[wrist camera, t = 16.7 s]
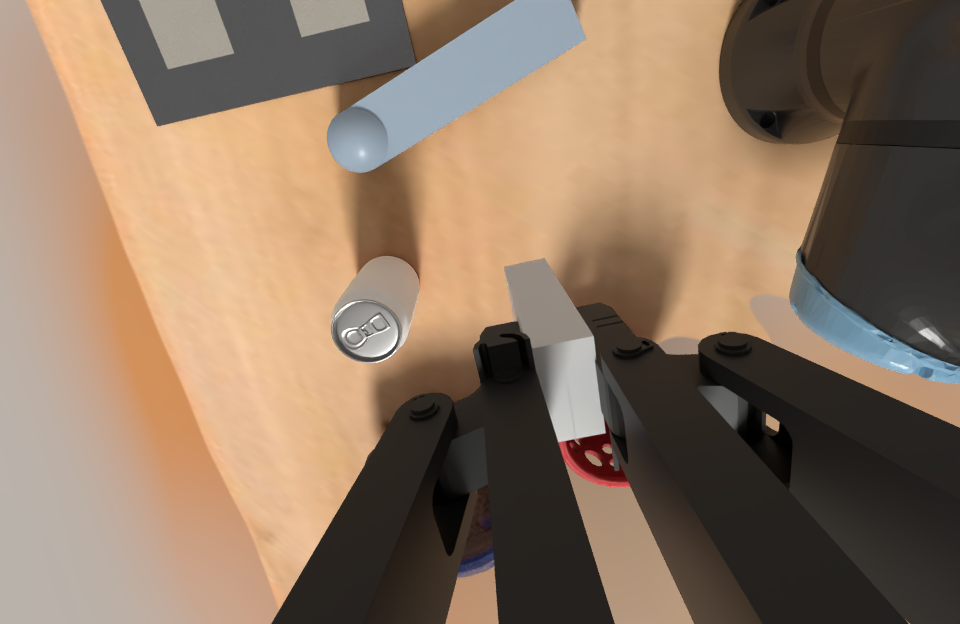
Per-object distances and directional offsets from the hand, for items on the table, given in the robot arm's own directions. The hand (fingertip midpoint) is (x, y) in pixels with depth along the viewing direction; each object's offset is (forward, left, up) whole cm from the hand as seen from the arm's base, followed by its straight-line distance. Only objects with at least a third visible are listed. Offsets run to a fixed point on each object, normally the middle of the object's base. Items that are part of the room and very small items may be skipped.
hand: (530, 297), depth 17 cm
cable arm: (+2, -10, -28) cm, 29 cm away
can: (+12, +7, -30) cm, 33 cm away
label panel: (+16, -20, -29) cm, 39 cm away
